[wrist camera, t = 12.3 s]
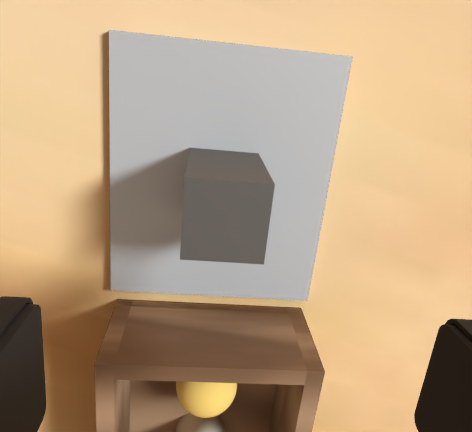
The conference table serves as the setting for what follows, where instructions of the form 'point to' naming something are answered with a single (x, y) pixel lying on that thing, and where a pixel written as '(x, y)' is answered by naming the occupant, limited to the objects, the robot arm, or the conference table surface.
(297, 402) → the box
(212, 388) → the mustard ball
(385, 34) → the conference table surface
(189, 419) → the white capsule
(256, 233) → the lid
